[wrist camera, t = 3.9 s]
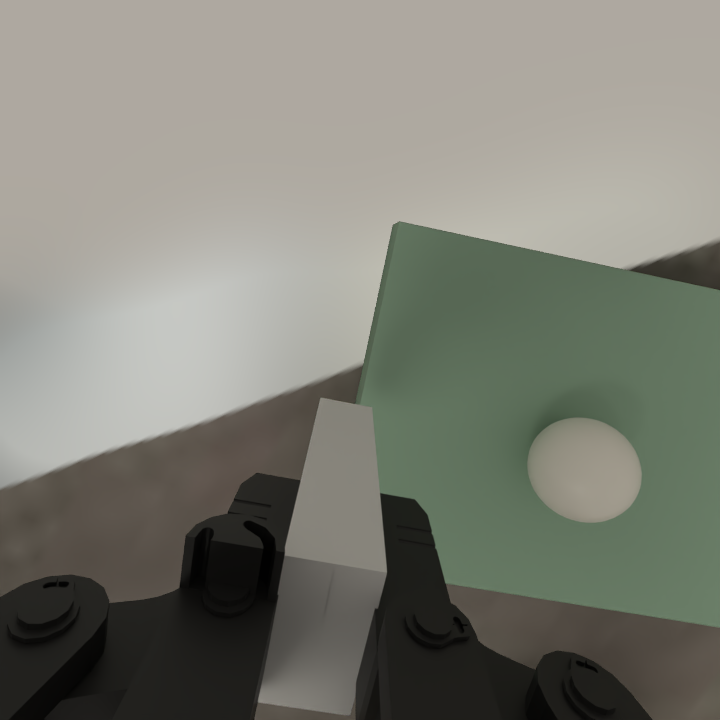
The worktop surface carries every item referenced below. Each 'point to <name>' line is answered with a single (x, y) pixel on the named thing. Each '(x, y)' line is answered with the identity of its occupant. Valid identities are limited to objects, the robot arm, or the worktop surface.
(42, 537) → the worktop surface
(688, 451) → the plate
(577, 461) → the ball
